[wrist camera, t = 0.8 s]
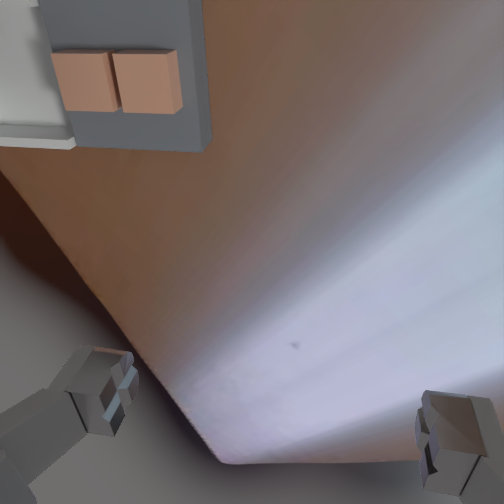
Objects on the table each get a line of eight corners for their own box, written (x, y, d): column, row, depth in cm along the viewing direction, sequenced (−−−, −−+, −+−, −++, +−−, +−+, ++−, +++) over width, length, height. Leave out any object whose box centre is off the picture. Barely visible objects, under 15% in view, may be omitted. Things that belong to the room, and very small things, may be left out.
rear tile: (65, 49, 39) (50, 53, 37) (114, 49, 38) (101, 53, 36) (79, 103, 41) (65, 110, 39) (125, 105, 40) (113, 112, 38)
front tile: (124, 49, 38) (112, 54, 36) (176, 49, 37) (166, 54, 35) (134, 105, 40) (123, 112, 38) (182, 106, 39) (174, 114, 37)
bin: (-47, -7, 42) (-90, -5, 38) (59, -9, 40) (26, -7, 36) (3, 130, 49) (-28, 144, 45) (93, 134, 47) (70, 149, 43)
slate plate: (62, -9, 40) (36, -7, 36) (200, -12, 37) (186, -10, 34) (96, 134, 47) (77, 146, 44) (212, 139, 45) (201, 152, 42)
